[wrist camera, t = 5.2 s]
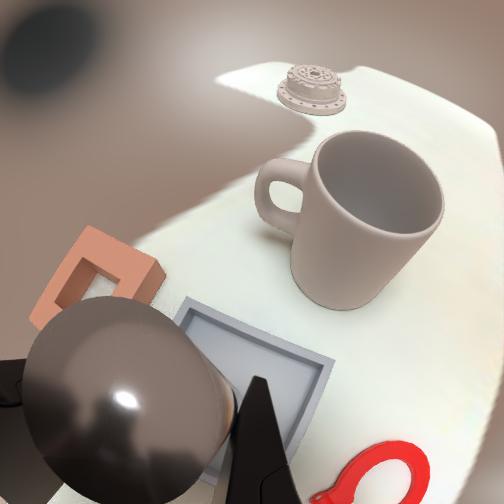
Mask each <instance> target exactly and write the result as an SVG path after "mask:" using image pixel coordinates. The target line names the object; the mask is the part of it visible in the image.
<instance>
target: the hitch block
mask: <svg viewBox="0 0 504 504" xmlns="http://www.w3.org/2000/svg"><path fill="white" fill-rule="evenodd" d="M97 272H98V273H99V274H101V275H103V276H104V277H106V278H108V279H109V280H111V281H113V282H114V283H116V284H118V285H117V286H116V288H115V290H114V291H113V293H112V295H111V296H115V297H124V298H128V299H133V300H136V301H139V302H141V303H144V304H147V305H149V304H150V302H151V301H152V299H153V297H154V296H155V294H156V292H157V291H158V289H159V287H160V286H161V284H162V282H163V281H164V279H165V277H166V274H165V273H164V271H163V269H162V268H161V266H160V264H159V263H158V261H157V259H155V258H153V257H151V256H149V255H147V254H145V253H143V252H141V251H139V250H137V249H135V248H133V247H131V246H129V245H127V244H125V243H122V242H121V241H118V240H116V239H114V238H113V237H111V236H109V235H107V234H104V233H103V232H101V231H99V230H97V229H95V228H93V227H91V226H89V225H88V226H87V227H86V229H85V230H84V231H83V233H82V234H81V235H80V237H79V238H78V240H77V241H76V243H75V244H74V245H73V247H72V248H71V250H70V251H69V253H68V255H67V256H66V257H65V259H64V260H63V262H62V263H61V265H60V267H59V268H58V270H57V271H56V272H55V274H54V276H53V277H52V279H51V281H50V282H49V284H48V285H47V287H46V289H45V290H44V292H43V294H42V296H41V297H40V299H39V301H38V302H37V304H36V306H35V308H34V310H33V311H32V313H31V315H30V317H29V320H30V321H31V322H32V323H33V324H34V325H35V326H36V327H37V328H38V329H39V330H40V331H41V330H42V329H43V328H44V327H45V325H46V324H47V323H48V322H49V321H50V320H51V319H52V318H53V317H54V316H56V315H57V314H58V313H59V312H61V311H62V310H64V309H65V308H67V307H69V306H71V305H73V304H75V303H77V302H79V301H80V300H81V298H82V296H83V295H84V293H85V291H86V290H87V288H88V287H89V285H90V283H91V282H92V280H93V279H94V277H95V276H96V274H97Z"/></svg>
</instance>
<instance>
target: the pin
mask: <svg viewBox="0 0 504 504" xmlns="http://www.w3.org/2000/svg"><path fill="white" fill-rule="evenodd" d="M242 401H243V399H242V396H241V394H240V392H239V390H238V389H237V388H236V387H235V386H234V385H233V384H232V383H231V382H230V381H229V380H228V379H227V378H226V377H225V376H224V375H223V374H222V373H221V372H220V371H219V370H218V368H217V367H216V366H215V365H214V364H213V363H212V362H211V361H210V360H209V359H208V358H207V357H206V356H205V355H204V354H203V353H202V351H201V350H200V349H199V348H198V347H197V346H196V345H195V344H194V343H193V342H192V340H191V339H190V338H189V337H188V336H187V335H186V334H185V333H184V331H183V330H182V329H181V328H180V327H179V326H178V325H176V324H175V323H174V322H173V321H172V320H171V319H170V318H168V317H167V316H165V315H164V314H163V313H161V312H160V311H158V310H156V309H154V308H152V307H151V306H149V305H147V304H144V303H141V302H139V301H136V300H133V299H128V298H124V297H115V296H103V297H95V298H89V299H85V300H83V301H80V302H77V303H75V304H73V305H71V306H69V307H67V308H65V309H64V310H62V311H61V312H59V313H58V314H57V315H56V316H54V317H53V318H52V319H51V320H50V321H49V322H48V323H47V324H46V325H45V327H44V328H43V329H42V330H41V332H40V333H39V335H38V336H37V338H36V339H35V341H34V343H33V345H32V347H31V349H30V352H29V354H28V357H27V360H26V364H25V368H24V373H23V381H22V402H23V410H24V415H25V419H26V423H27V426H28V429H29V432H30V435H31V437H32V440H33V442H34V444H35V446H36V448H37V450H38V451H39V453H40V455H41V456H42V458H43V459H44V461H45V462H46V463H47V465H48V466H49V467H50V469H51V470H52V471H53V472H54V473H55V474H56V475H57V476H58V477H59V478H60V479H61V480H62V481H63V482H64V483H66V484H67V485H68V486H69V487H70V488H72V489H73V490H75V491H76V492H78V493H79V494H81V495H82V496H84V497H86V498H88V499H90V500H92V501H94V502H97V503H100V504H165V503H167V502H170V501H172V500H174V499H175V498H177V497H178V496H180V495H182V494H183V493H185V492H186V491H187V490H188V489H189V488H190V487H191V486H192V485H193V484H194V483H195V482H196V481H197V479H198V478H199V477H200V476H201V474H202V473H203V472H204V470H205V469H206V467H207V466H208V465H209V463H210V462H211V461H212V459H213V458H214V456H215V455H216V454H217V452H218V451H219V449H220V448H221V446H222V445H223V444H224V442H225V441H226V439H227V438H228V436H229V435H230V433H231V431H232V429H233V426H234V423H235V420H236V418H237V415H238V412H239V409H240V406H241V404H242Z"/></svg>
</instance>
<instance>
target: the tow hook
mask: <svg viewBox="0 0 504 504" xmlns="http://www.w3.org/2000/svg"><path fill="white" fill-rule="evenodd" d="M389 459H400V460H402V461H404V462H405V463H406V464H407V465H408V466H409V468H410V471H411V474H412V482H411V486H410V489H409V491H408V494H407V496H406V497H405V498H404V500H403V501H402V502H401V503H400V504H419V503H420V502H421V501H422V499H423V497H424V495H425V493H426V491H427V488H428V484H429V479H430V466H429V462H428V459H427V457H426V455H425V454H424V453H423V451H422V450H421V449H420V448H418V447H417V446H415V445H414V444H412V443H408V442H404V441H386V442H383V443H380V444H376V445H374V446H372V447H370V448H368V449H366V450H364V451H363V452H361V453H360V454H359V455H358V456H356V457H355V458H354V459H353V460H352V461H351V462H350V463H349V464H348V465H347V466H346V468H345V469H344V470H343V471H342V473H341V474H340V476H339V478H338V480H337V482H336V484H335V486H334V487H333V488H331V489H330V490H328V491H327V492H320V493H318V494H316V495H315V496H314V497H312V498H311V500H310V502H311V504H351V503H352V502H353V500H354V493H355V489H356V487H357V485H358V483H359V481H360V479H361V478H362V477H363V476H364V475H365V473H366V472H367V471H369V470H370V469H371V468H372V467H373V466H375V465H377V464H378V463H380V462H383V461H386V460H389Z"/></svg>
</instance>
